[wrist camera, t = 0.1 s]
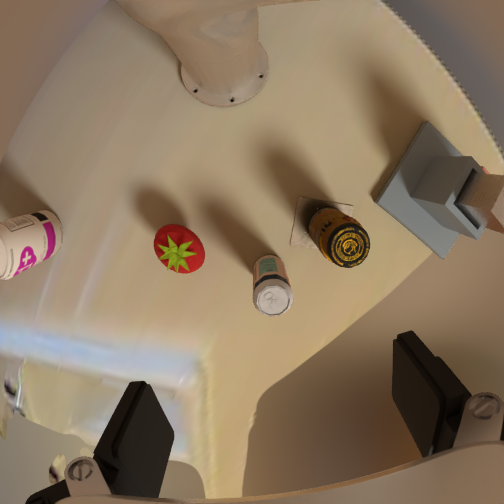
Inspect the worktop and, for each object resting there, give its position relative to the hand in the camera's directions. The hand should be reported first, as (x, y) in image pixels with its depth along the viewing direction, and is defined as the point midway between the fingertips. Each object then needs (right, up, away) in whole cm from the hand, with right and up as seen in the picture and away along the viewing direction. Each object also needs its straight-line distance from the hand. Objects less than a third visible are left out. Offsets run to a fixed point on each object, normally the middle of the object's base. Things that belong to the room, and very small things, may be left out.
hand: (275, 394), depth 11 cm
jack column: (+29, +15, +32) cm, 45 cm away
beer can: (+2, +3, +37) cm, 38 cm away
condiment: (+9, +9, +36) cm, 38 cm away
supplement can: (-36, +9, +36) cm, 52 cm away
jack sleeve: (+29, +15, +34) cm, 47 cm away
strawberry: (-11, +7, +36) cm, 39 cm away
